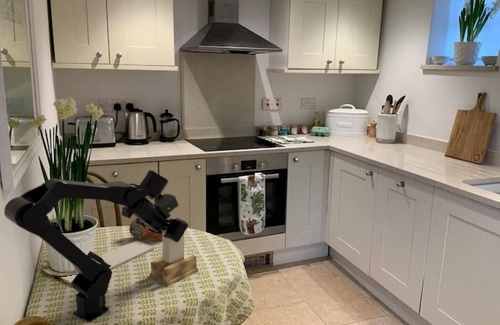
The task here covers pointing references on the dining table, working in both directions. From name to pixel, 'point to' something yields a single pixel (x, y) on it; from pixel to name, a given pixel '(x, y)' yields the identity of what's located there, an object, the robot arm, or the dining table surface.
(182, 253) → the off-white rectangular block
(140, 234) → the tin
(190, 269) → the wooden slotted stand
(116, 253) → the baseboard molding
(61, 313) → the dining table surface
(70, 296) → the dining table surface
